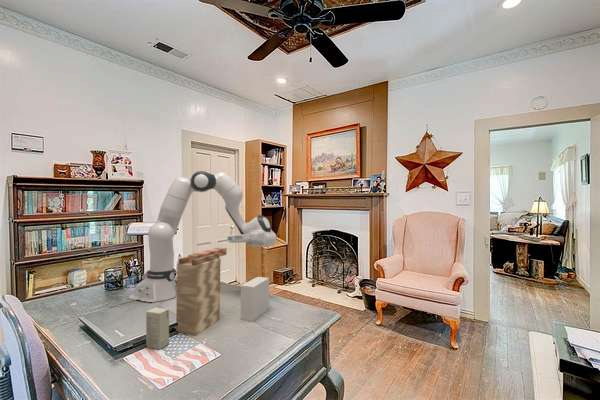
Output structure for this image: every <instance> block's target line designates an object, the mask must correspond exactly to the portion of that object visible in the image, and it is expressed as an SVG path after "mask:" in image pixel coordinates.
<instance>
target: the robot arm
mask: <svg viewBox="0 0 600 400" xmlns="http://www.w3.org/2000/svg"><path fill="white" fill-rule="evenodd" d="M209 190H214V191H215V192H217V193H218V194H219V195H220V197H221V198H222V199H223V202H224V203H225V204H224V205H225V206H224V207H225V211H226V213H227V215H228V216H229V218H231V220H232V222H233V223H234V225H235V226H236V228H237V230H238V232H239V234H233V235H228V236H227V238H226V239H227V241H228V242H229V243H231V244H233V243H234V244H236V243H239V244H240V243H246V244H247V246H248V247H251V248H255V247H256V248H257V247H263V248H266V247H271V246H273V245H275V244H276V242H277V234H276V233H275V232H274V231H273V230H272V228H271V227H272V226H271V223H270V222H271V221H270V220H269V218H267V217H266V216H264V215H261V214H260V215H257V216H255V217H254V218H252V219H251V220H249V222H246V221H245V220H244V218H243V216H242V215H241V214H240V212H239V207H240V204H241V202H242V200H243V197H244V196H243V195H244V194H243V193H244V192H243V190H242V188H241V187H240V185H239V184H238V183H237V182H236V181H235V180H234V179H233V178H232V177H231V176H230V175H229V174H227V173H226V172H224V171H220V172H217V173H215V174H212V173H209V172H207V171H203V170H199V171H195V172H194V173H193V174H192V175H191V177H189V178H187V177H183V176H179V177H176V178H175V179H174V180H173V181H172V183H171V185H169V188H168V190H167V192H166V193H165V197H164V199H163V201H162V204H161V205H160V208H159V209H160V210H159V213H158V217H157V219H156V221H155V223H154V224H153V225H151V226H150V227H149V229H148V231H147V233H148V234H147V237H148V247H149V249H148V250H149V270H147V271H145V272H144V275H146V277H145V278H143V279H142V280H141V281H140V282H139V283H137V284H136V285H135V287H134V290H133V291H134V292H133V293H132V294H130V295H129V296H128V300H132V301H136V300H137V299H146V300H148V301H150V302H152V303H157V302H161V301H168V300H171V299H173V298H175V297H177V290H176V287H175V266H174V265H175V264H174V263H175V258H174V257H175V251H174V241H173V240H174V239H173V238H174V237H175V235H176V232H177V231H178V228H179V225H180V222H181V220H182V216H183V214H184V211H185V209H186V206H187V204H188V202H189V199H190V197H191V196H192V194H193V192H198V193H206V192H208V191H209Z"/></svg>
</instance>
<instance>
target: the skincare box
mask: <svg viewBox="0 0 600 400" xmlns="http://www.w3.org/2000/svg"><path fill="white" fill-rule="evenodd" d="M145 312H146V313H145V322H146V323H145V326H146V327H145V329H146V330H145V331H146V333H145V335H146V336H145V337H146V338H145V341H146V343H145V344H146V347H147V348H153V349H156V350H161V349H163V348H165V347H166V346H167V345H169V344H170V309H169V308H165V307H164V308H163V307H157V306H156V307H154V308H151V309H149V310H146V311H145Z"/></svg>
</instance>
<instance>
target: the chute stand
mask: <svg viewBox="0 0 600 400" xmlns="http://www.w3.org/2000/svg"><path fill="white" fill-rule="evenodd" d="M176 267H177V268H176V270H177V271H176V294H177V295H176V312H175V314H176V315H175V316H176V319H175V320H176V321H175V323H176V322H178V326H177V327H176V326H175V332H176V331H178V332H177V333H180V332H181V333H182V334H185V333H186V335H191V336H195V337H196V336H197V335H198V334H200V333H202V332H203V331H205V330H206V329H208V328H209V327H211V326H213V325H214V324H215V323H218V322H219V321H220V320H221V319H220V312H221V311H220V309H221V308H220V307H221V257H219V253H216V254H212V255H208V256H205V257H201V258H197V259H194V260H192V263H188V255H187V256H185V257H180V258H178V263H177V266H176Z"/></svg>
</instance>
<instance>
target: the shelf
mask: <svg viewBox="0 0 600 400" xmlns="http://www.w3.org/2000/svg"><path fill="white" fill-rule="evenodd" d="M269 299H270V277H265V276H264V277H262V276H257V277H255V278H253V279H250V280H249V281H247V282H245V283H243V284H241V285H240V316H239V317H240V321H245V322H246V321H247V322H252V323H253V322H255V321H256V320H257V319H259V318H260V317H261V316H263V314H264V313H265V312H267V311H268V310H269V309H270V308H269V307H270V305H269V303H270V300H269Z"/></svg>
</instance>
